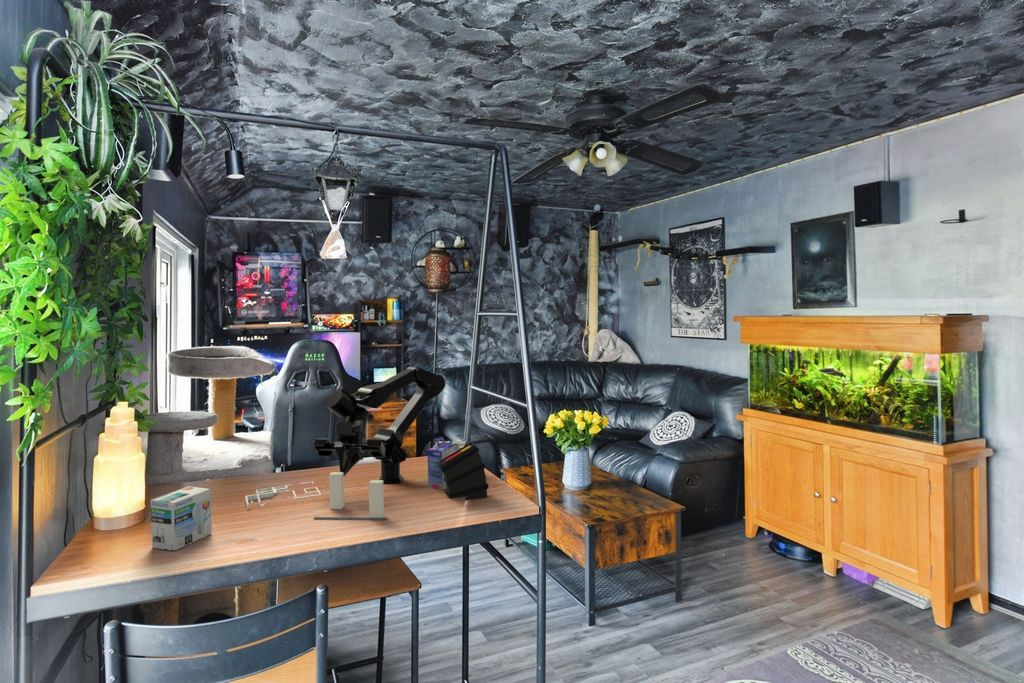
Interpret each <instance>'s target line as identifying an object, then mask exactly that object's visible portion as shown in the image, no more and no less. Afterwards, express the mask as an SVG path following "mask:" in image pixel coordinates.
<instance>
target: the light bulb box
mask: <svg viewBox="0 0 1024 683" xmlns="http://www.w3.org/2000/svg"><path fill="white" fill-rule="evenodd" d="M211 490H212V489H211V488H205V487H197V486H189V485H188V486H185V487H183V488H180V489H178V490H174V491H172V492H169V493H167V494H164V495H161V496H159V497H155V498H152V499H150V522H151V523H150V525H151V548H152V549H159V550H164V549H167V550H166V551H171V550H174V551H173V552H176V551H178V550H177V549H179V550H180V548H181V549H182V547H183V548H185V547H187V546H189V545H191V544H193V543H192V542H194V543H196V542H197V540H198V541H200V540H202V539H204V538H207V537H208V536H207V535H209V534H211V533H212V532H213V531H212V530H213V529H212V528H213V527H212V526H213V525H212V491H211ZM211 535H212V534H211ZM209 536H210V535H209ZM201 538H202V539H201ZM199 539H200V540H199ZM195 541H196V542H195ZM188 544H189V545H188ZM186 545H187V546H186ZM184 546H185V547H184ZM175 550H176V551H175Z"/></svg>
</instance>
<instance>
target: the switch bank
mask: <svg viewBox="0 0 1024 683" xmlns="http://www.w3.org/2000/svg"><path fill="white" fill-rule="evenodd" d="M313 520H337V521H341V520H342V521H348V520H350V521H351V520H352V521H353V520H355V521H388V517H383V518H369V517H359V516H358V517H353V516H352V517H351V516H350V517H347V516H340V517H339V516H314V517H313Z"/></svg>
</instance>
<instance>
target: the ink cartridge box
mask: <svg viewBox="0 0 1024 683" xmlns="http://www.w3.org/2000/svg"><path fill="white" fill-rule="evenodd" d="M439 441H443V442H441V443H439ZM445 441H446V440H445V439H444V437H443V436H440V437H438V438H435V443H436V442H437V444H438V445H437V446H435V447H431V448H429V449H427V452H426V453H427V454H426V456H427V478H428V488H431V489H438V490H445V489H447V486H446V483H445V481H444V480H443V479H444V478H445V477H444V474H443V472H442V471H441V470H440V469H439V467H438V466H439V464H438V462H439V461H440V460H442V459H444V458H445V457H447V456H449V455H451V454H452V453H454V452H456V451H457V450H459V444H457V443H449V442H445Z"/></svg>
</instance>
